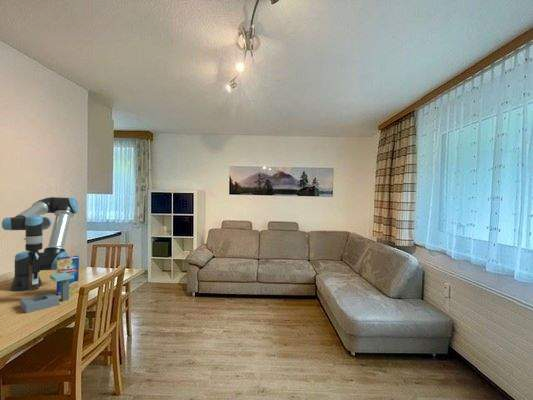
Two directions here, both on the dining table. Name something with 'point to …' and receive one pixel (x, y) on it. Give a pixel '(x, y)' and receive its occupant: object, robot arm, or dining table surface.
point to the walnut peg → (31, 287)
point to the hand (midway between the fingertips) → (33, 282)
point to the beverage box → (70, 267)
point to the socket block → (39, 302)
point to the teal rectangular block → (62, 284)
